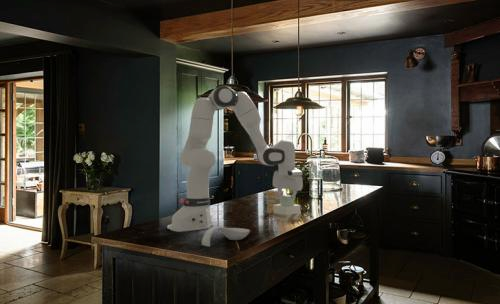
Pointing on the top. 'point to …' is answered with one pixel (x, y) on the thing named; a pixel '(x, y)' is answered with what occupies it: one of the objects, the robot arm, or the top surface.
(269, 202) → the supplement box
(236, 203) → the top surface
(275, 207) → the tower top
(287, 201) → the sage cube
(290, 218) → the block
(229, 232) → the white curved spoon
